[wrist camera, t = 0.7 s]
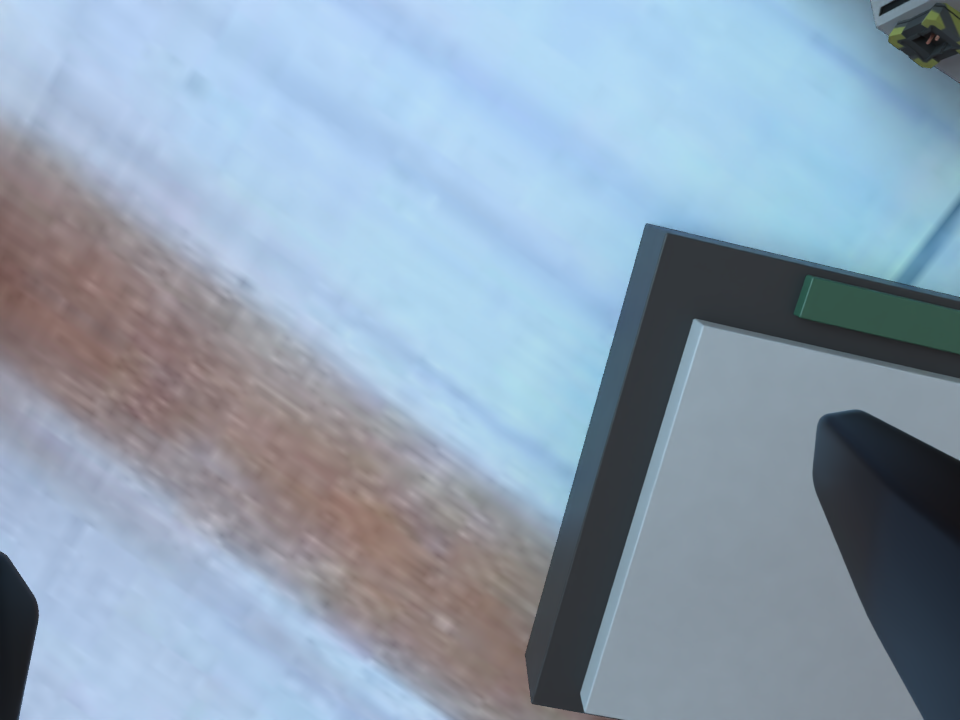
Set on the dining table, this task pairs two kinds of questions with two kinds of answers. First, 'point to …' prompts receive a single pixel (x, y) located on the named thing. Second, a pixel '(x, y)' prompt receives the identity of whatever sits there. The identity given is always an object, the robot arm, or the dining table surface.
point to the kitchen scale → (733, 490)
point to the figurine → (923, 31)
